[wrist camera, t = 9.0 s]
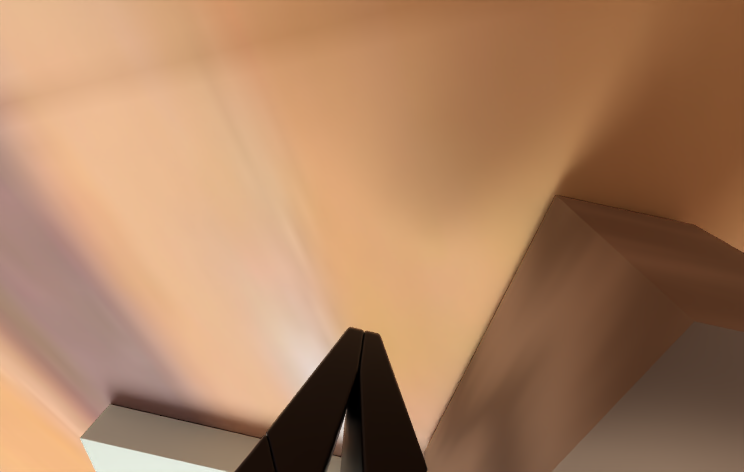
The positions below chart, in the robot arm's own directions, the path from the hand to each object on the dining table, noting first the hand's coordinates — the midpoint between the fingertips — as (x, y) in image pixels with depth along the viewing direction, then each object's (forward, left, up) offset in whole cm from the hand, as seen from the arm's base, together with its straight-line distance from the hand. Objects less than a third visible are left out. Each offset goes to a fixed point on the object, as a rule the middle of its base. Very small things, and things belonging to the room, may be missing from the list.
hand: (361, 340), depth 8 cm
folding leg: (-7, +4, -3) cm, 8 cm away
